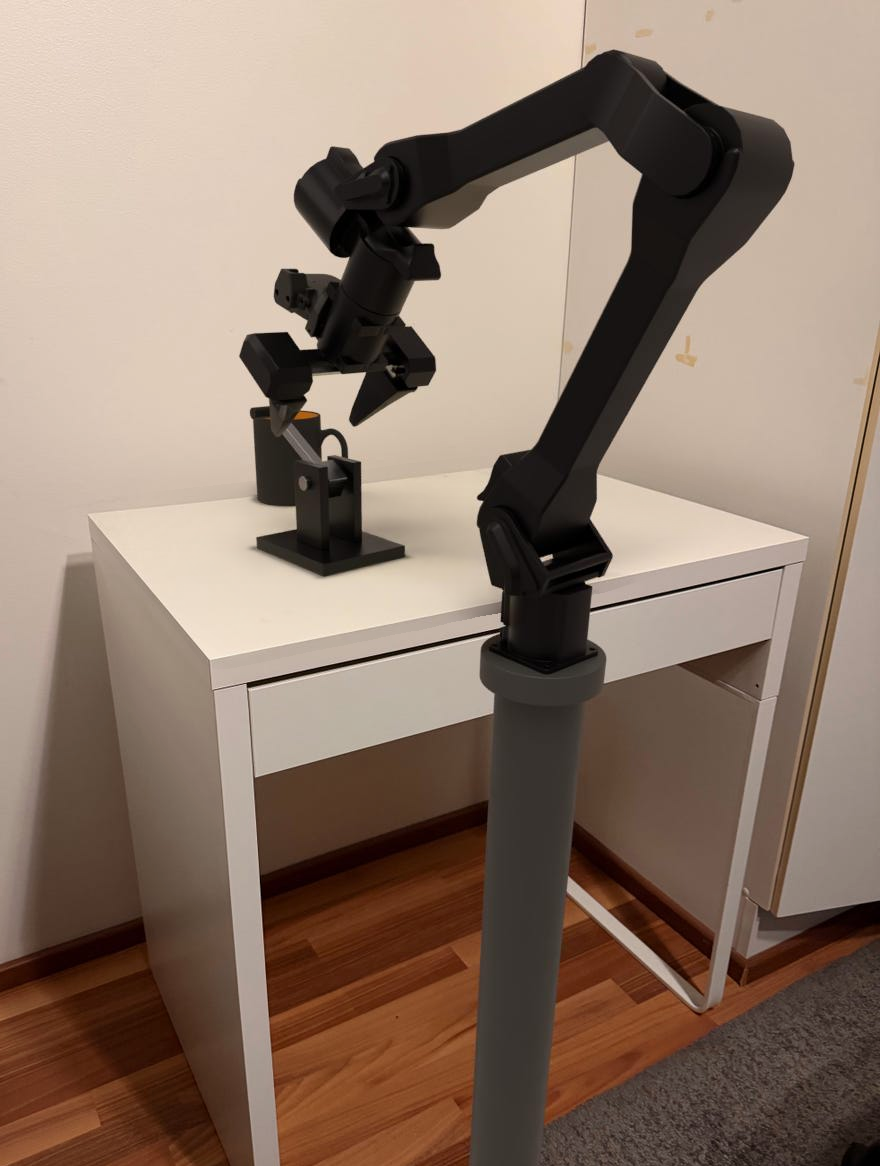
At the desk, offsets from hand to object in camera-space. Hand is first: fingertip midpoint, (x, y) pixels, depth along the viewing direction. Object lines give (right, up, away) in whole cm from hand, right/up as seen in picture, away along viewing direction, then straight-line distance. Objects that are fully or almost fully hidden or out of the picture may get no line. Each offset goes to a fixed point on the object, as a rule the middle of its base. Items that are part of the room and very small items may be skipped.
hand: (314, 428), depth 86 cm
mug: (-4, -3, +24) cm, 25 cm away
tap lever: (-2, -2, +3) cm, 4 cm away
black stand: (+1, -12, +3) cm, 12 cm away
